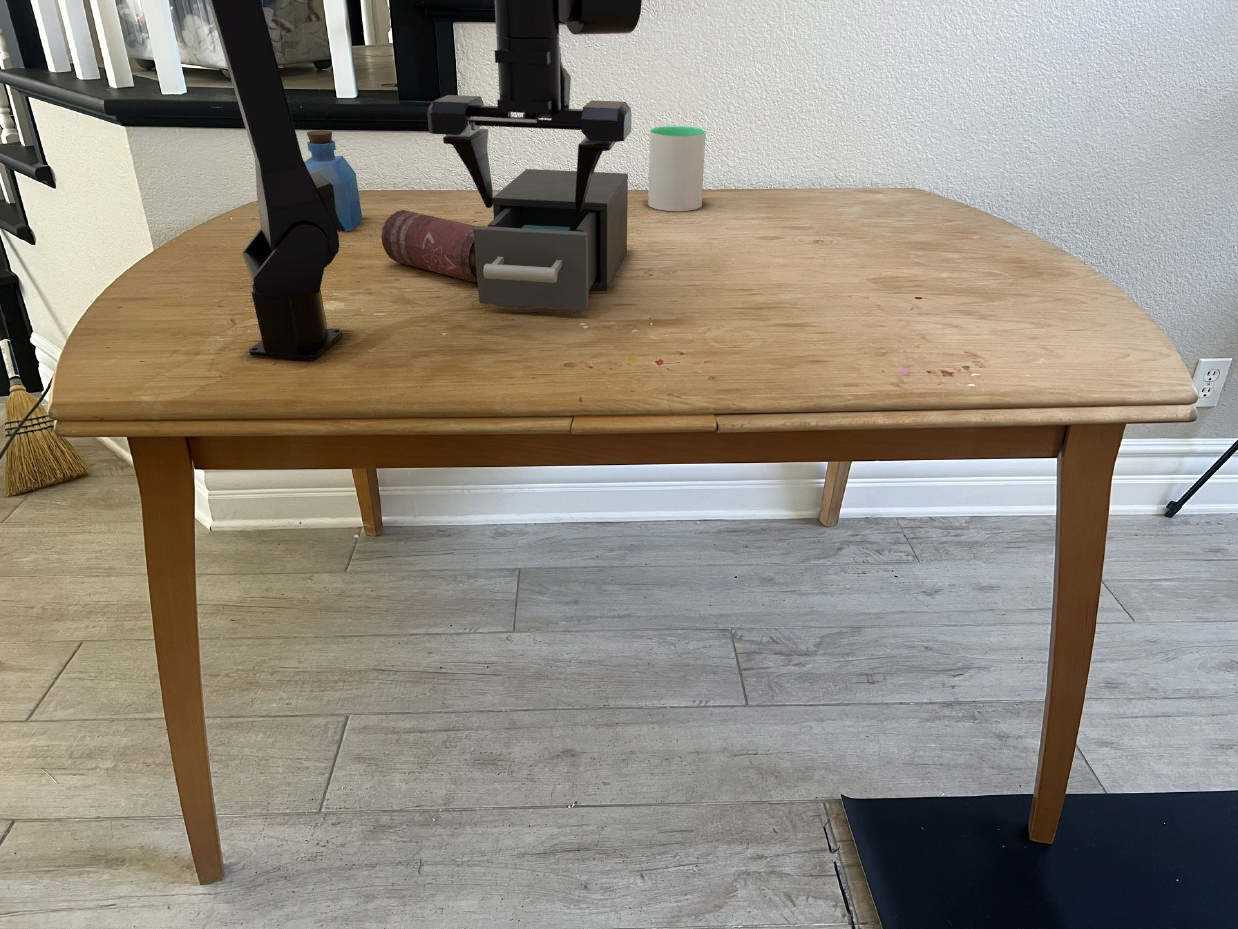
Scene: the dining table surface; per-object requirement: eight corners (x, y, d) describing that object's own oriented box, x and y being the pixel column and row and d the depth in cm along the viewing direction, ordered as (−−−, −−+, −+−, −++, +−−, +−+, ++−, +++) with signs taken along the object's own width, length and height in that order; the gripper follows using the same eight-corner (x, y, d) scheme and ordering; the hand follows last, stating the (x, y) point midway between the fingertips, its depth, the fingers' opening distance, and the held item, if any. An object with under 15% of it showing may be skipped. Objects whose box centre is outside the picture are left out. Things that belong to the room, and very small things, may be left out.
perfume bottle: (362, 218, 120) (349, 128, 114) (352, 231, 115) (337, 136, 108) (317, 218, 120) (302, 128, 114) (305, 231, 114) (288, 136, 108)
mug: (635, 193, 134) (636, 122, 129) (684, 190, 136) (687, 120, 131) (656, 212, 124) (658, 137, 119) (709, 209, 126) (713, 134, 121)
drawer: (577, 327, 84) (576, 248, 80) (465, 319, 85) (458, 241, 81) (608, 269, 99) (609, 201, 95) (513, 263, 100) (509, 196, 96)
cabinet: (607, 290, 95) (607, 203, 90) (497, 283, 97) (492, 197, 92) (626, 251, 108) (628, 173, 103) (529, 246, 109) (526, 168, 104)
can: (408, 269, 105) (493, 292, 99) (372, 248, 100) (459, 271, 93) (425, 224, 105) (512, 243, 99) (390, 200, 100) (479, 219, 93)
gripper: (640, 32, 84) (636, 195, 92) (456, 27, 86) (468, 186, 94) (624, 42, 74) (621, 222, 82) (417, 35, 76) (434, 212, 84)
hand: (534, 209), depth 86 cm, fingers open, 9 cm apart
